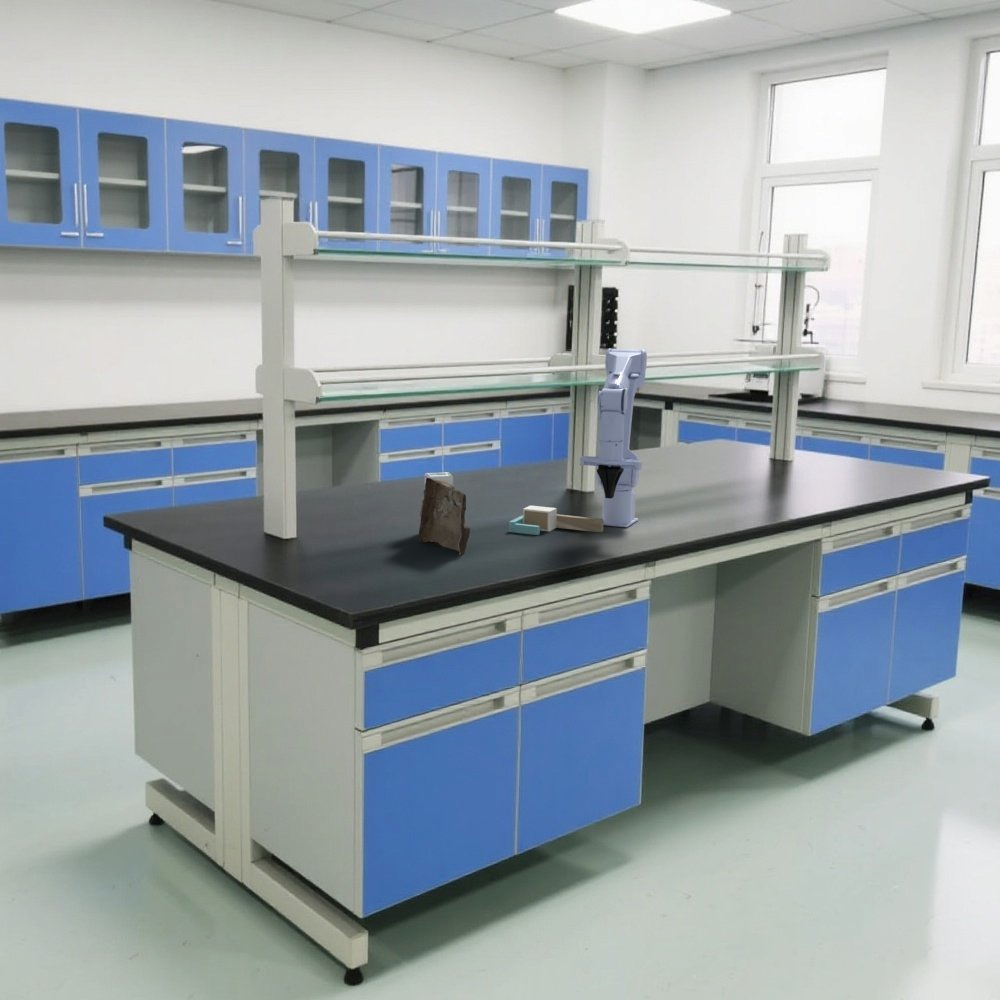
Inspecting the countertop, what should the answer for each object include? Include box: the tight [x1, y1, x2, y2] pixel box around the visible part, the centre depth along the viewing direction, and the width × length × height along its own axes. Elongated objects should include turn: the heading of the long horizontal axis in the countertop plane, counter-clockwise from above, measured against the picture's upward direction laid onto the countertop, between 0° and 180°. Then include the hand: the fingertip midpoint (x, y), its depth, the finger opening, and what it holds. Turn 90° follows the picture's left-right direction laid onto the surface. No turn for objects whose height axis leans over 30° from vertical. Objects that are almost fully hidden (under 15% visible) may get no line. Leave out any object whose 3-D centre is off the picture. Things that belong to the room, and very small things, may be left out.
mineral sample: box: [418, 478, 471, 556], centre depth 247 cm, size 17×4×15 cm, turn 37°
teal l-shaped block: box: [508, 514, 541, 536], centre depth 268 cm, size 10×8×2 cm
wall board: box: [555, 513, 604, 533], centre depth 270 cm, size 1×20×3 cm, turn 65°
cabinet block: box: [522, 504, 558, 532], centre depth 269 cm, size 5×7×5 cm
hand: (609, 497), depth 259 cm, fingers closed
